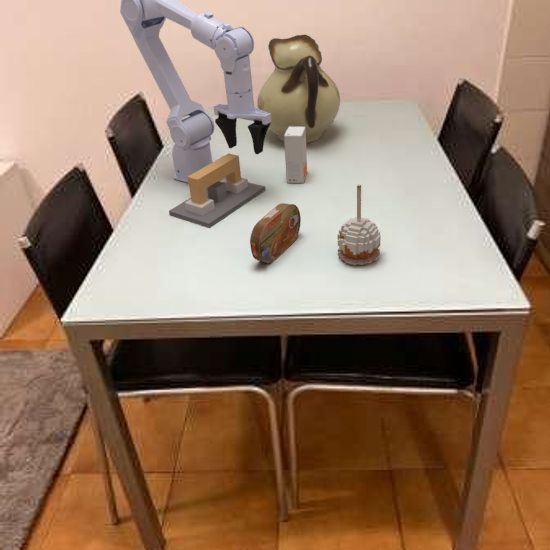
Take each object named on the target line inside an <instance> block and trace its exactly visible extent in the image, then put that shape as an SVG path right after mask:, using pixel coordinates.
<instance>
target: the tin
mask: <svg viewBox="0 0 550 550" xmlns="http://www.w3.org/2000/svg"><path fill="white" fill-rule="evenodd" d="M301 221H302V220H301V211H300V210H299V207H298V206H297V205H296V204H295V203H294V204H293V203H283V202H282V203H279V204H278V205H276V206H275V207H274V208H272V209H271V210H270V211H269V212H268V213H267V214H265V215H264V216H263V217H262V218H261V219H260V220H259V221H258V222H257V223H256V224H255V225H254V226H253V228H252V231H251V233H250V237H249V245H250V251H251V254H252V257H253V258H254V259H255V260H256V261H259V262H264V263H265V264H271V263H273V262H275V261H276V260H277V259H278V258H279V257H280V256H281V255H282V254H284V252H285V251H286V250H287V249H288V248H289V247H291V245H292V244H294V242H295V241H296V240H297V239H298V238H297V237H298V235H299V234H300V229H301Z"/></svg>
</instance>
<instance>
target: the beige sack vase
mask: <svg viewBox="0 0 550 550" xmlns="http://www.w3.org/2000/svg"><path fill="white" fill-rule="evenodd" d="M267 46H268V50H269V55H270V59H271V61H272V63H273V65H274V69H273V72H272V73H271V74H270V75H269V76H268V78H267V79H266V80H265V81H264V83H263V85H262V86H261V88H260V91H259V92H258V96H257V100H256V102H257V103H256V105H257V106H256V107H257V109H260V110H262V111H264V112H267V113H271V124H270V126H269V128H268V129H270V131H272V132H273V133H275V134H276V135H277V137H278V139H279V141H282V142H283V143H284V135H285V133H286V131H287V129H288V127H305V130H306V144H308V143H312V142H314V141H317V140H319V139H320V138H322V137H323V133H324V132H325V131H326V130H327V129H328V128H329V127H330V126H331V124H332V123H333V122H334V121H335V119H336V117H337V116H338V114H339V109H340V105H341V96H340V91H339V88H338V86H337V85H336V82H335V81H334V80H333V79H332V78H331V77H330V76H329V74H327V73H326V71H324V70H323V68H322V67H321V64H322V61H323V57H322V52H321V50H320V49H319V44H318V43H316V40H315V39H314V38H313V37H311V36H310V35H308V34H296V35H294V36H292V37H289V38H279V37H278V38H277V37H276V38H275V37H274V38H272V39H270V41H269V42H268V45H267Z"/></svg>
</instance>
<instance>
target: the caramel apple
mask: <svg viewBox="0 0 550 550" xmlns="http://www.w3.org/2000/svg"><path fill="white" fill-rule="evenodd" d="M336 237H337V246H338V249H337V256H338V257H339V259H340V260H341V261H344V263H345V264H349V265H353V266H356V265H360V266H363V265H364V264H365V265H367V264H371V263H372V262H373V261H374V262H376V261H377V259H379V257H380V256H381V252H380V246H381V240H382V239H381V231H379V229H378V225H377V223H376V222H373V221H371V219H370V218H366V217H362V184H357V185H356V216H355V217H354V218H353V217H351V218H349V219H348V220H347V221H346V222H344V223H343V224H342V225H341V227H340V229H339V230H338V233H337V236H336Z"/></svg>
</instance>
